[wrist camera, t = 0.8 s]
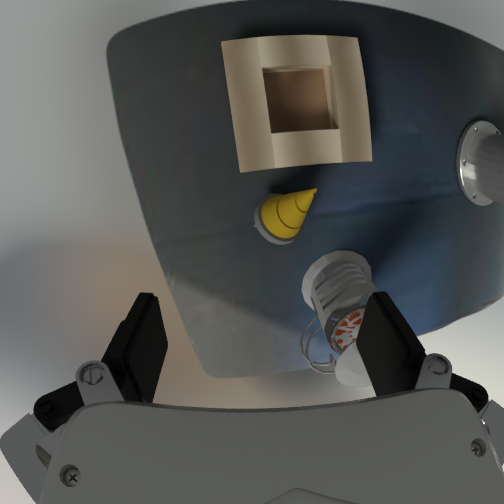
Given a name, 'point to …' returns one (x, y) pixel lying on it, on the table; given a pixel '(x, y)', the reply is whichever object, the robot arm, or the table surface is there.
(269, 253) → the table surface
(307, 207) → the yellow stepped cone
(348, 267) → the french press
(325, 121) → the socket block
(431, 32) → the table surface
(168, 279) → the table surface
